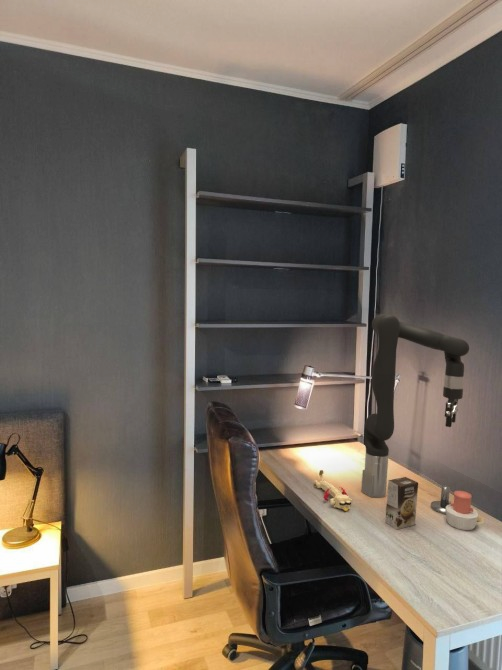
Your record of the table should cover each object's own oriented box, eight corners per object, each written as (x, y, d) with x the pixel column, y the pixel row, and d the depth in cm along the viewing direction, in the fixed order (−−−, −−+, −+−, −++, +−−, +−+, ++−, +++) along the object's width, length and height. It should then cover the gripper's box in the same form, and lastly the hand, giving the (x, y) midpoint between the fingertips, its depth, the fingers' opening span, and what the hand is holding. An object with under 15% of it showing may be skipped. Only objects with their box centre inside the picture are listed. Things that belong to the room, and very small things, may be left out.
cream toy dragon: (308, 490, 199) (335, 512, 175) (309, 469, 199) (335, 489, 175) (330, 488, 202) (358, 510, 178) (330, 468, 202) (359, 487, 178)
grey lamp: (445, 516, 176) (447, 494, 175) (424, 505, 185) (426, 483, 184) (463, 512, 181) (465, 489, 180) (442, 501, 189) (444, 480, 189)
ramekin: (460, 515, 178) (461, 501, 178) (484, 529, 168) (485, 515, 167) (437, 519, 174) (438, 505, 174) (460, 534, 164) (462, 520, 163)
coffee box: (397, 530, 165) (400, 486, 163) (384, 522, 170) (387, 479, 169) (416, 525, 169) (419, 482, 167) (402, 517, 175) (405, 475, 173)
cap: (449, 510, 170) (450, 494, 170) (451, 504, 175) (453, 488, 175) (471, 516, 166) (473, 499, 166) (474, 510, 171) (475, 494, 171)
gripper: (447, 382, 200) (444, 419, 202) (440, 387, 189) (437, 426, 190) (466, 385, 196) (463, 422, 198) (460, 390, 185) (456, 430, 186)
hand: (450, 424), depth 194 cm, fingers open, 8 cm apart
